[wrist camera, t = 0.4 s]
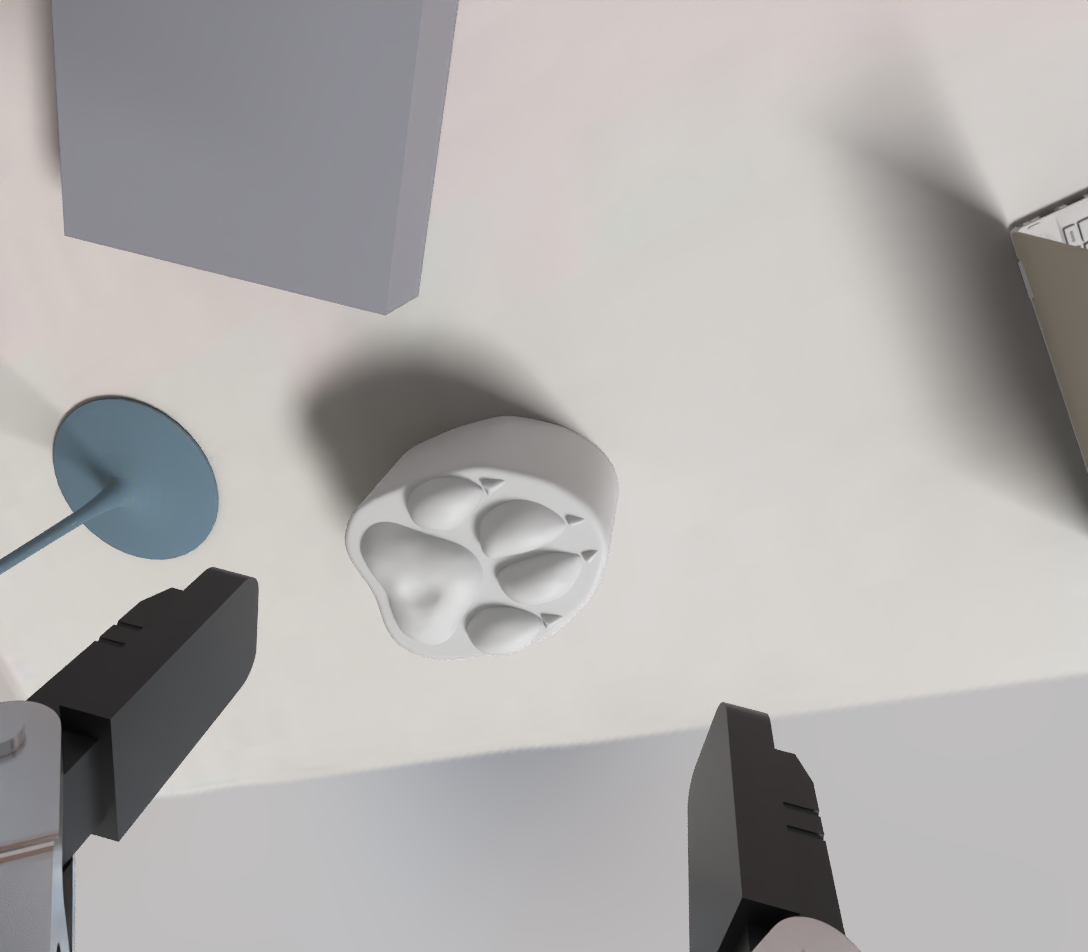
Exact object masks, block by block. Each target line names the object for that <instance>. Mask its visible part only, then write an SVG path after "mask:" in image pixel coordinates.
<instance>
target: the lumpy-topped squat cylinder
mask: <svg viewBox="0 0 1088 952" xmlns="http://www.w3.org/2000/svg"><path fill="white" fill-rule="evenodd" d="M618 494H619V484H618V478H617V475H616V472H615V469H614V467H613V465H612V463H611V462H610V460H609V459H608V457H607V456H606V455H605V454H604V453H603V452H602V451H601V450H600V449H599V448H598V447H597V446H595V445H594V444H593V443H591V442H590V441H589V440H587V439H586V438H584V437H582V436H581V435H579V434H577V433H575V432H574V431H572V430H570V429H568V428H565V427H562V426H559V425H556V424H552V423H549V422H544V421H540V420H535V419H530V418H524V417H518V416H498V417H493V418H488V419H484V420H480V421H476V422H473V423H470V424H466V425H463V426H460V427H457V428H454V429H451V430H449V431H446V432H443V433H441V434H439V435H437V436H435V437H433V438H431V439H428V440H426V441H424V442H421V443H419V444H417V445H416V446H414V447H412V448H411V449H409V450H408V451H407V452H406V453H405V454H404V455H403V456H402V457H401V458H400V459H399V460H398V461H397V462H396V464H395V465H394V466H393V467H392V468H391V469H390V470H389V472H388V473H387V474H386V475H385V476H384V477H383V478H382V479H381V481H380V482H379V483H378V484H377V485H376V486H375V488H374V489H373V490H372V491H371V492H370V493H369V495H368V496H367V497H366V498H365V499H364V501H363V502H362V503H361V504H360V505H359V506H358V507H357V508H356V509H355V511H354V512H353V514H352V515H351V517H350V520H349V522H348V525H347V528H346V533H345V545H346V549H347V552H348V555H349V557H350V559H351V561H352V563H353V564H354V566H355V567H356V569H357V570H358V571H359V573H360V574H361V576H362V577H363V578H364V579H365V581H366V582H367V584H368V585H369V587H370V588H371V590H372V592H373V594H374V596H375V598H376V600H377V603H378V605H379V609H380V612H381V615H382V618H383V621H384V624H385V626H386V628H387V630H388V632H389V633H390V635H391V637H392V638H393V639H394V640H395V641H396V642H397V643H398V644H399V645H400V646H402V647H403V648H404V649H406V650H408V651H410V652H412V653H414V654H417V655H420V656H423V657H426V658H430V659H435V660H444V661H448V660H450V661H453V660H460V659H468V658H473V657H479V656H488V655H493V656H502V655H509V654H513V653H515V652H518V651H520V650H522V649H523V648H524V647H526V646H527V645H529V644H531V643H535V642H538V641H540V640H543V639H545V638H547V637H549V636H551V635H552V634H554V633H555V632H556V631H558V630H559V629H560V628H561V627H563V626H564V625H565V624H566V623H567V622H568V621H569V620H570V619H571V618H573V616H575V615H576V614H577V612H578V611H579V610H580V609H581V608H582V607H583V606H584V605H585V604H586V603H587V602H588V601H589V599H590V598H591V597H592V595H593V593H594V592H595V590H596V588H597V586H598V584H599V582H600V580H601V578H602V575H603V572H604V569H605V566H606V562H607V558H608V553H609V548H610V543H611V537H612V531H613V525H614V519H615V513H616V507H617V501H618Z"/></svg>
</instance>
